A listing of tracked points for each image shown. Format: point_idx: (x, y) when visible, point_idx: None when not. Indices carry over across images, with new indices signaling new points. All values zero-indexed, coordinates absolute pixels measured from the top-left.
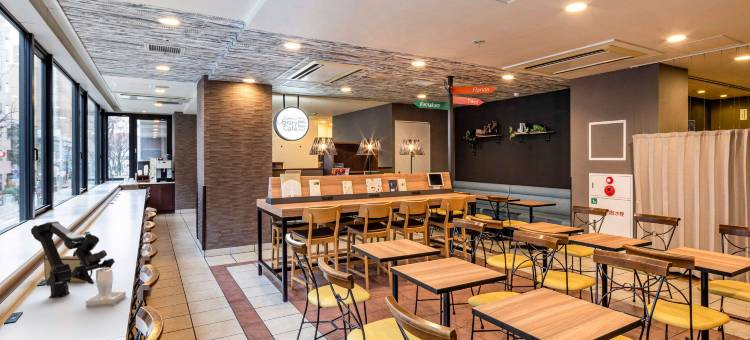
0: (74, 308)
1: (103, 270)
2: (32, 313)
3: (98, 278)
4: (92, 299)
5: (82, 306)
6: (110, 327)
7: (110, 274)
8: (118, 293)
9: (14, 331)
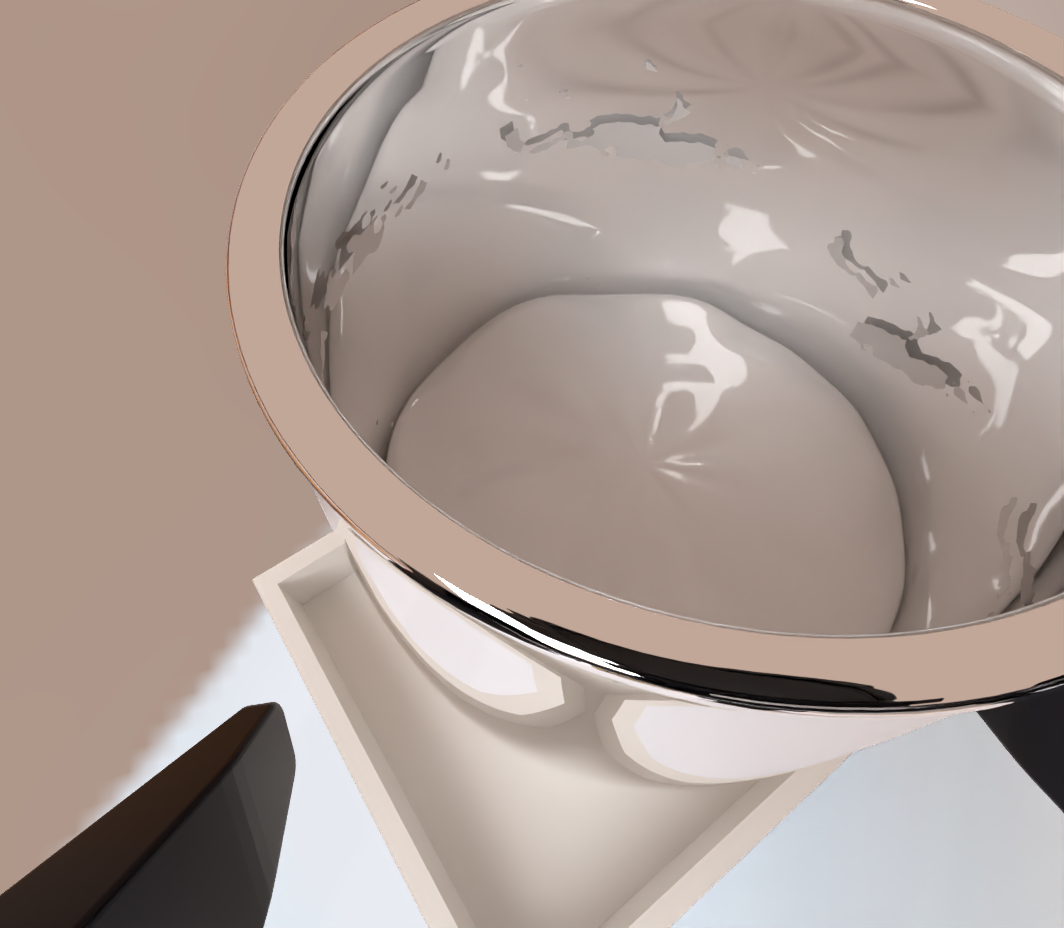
0: (1019, 846)
1: (560, 678)
2: None
3: (914, 360)
4: (758, 794)
5: (893, 820)
6: None
7: (556, 174)
8: (332, 672)
9: None
